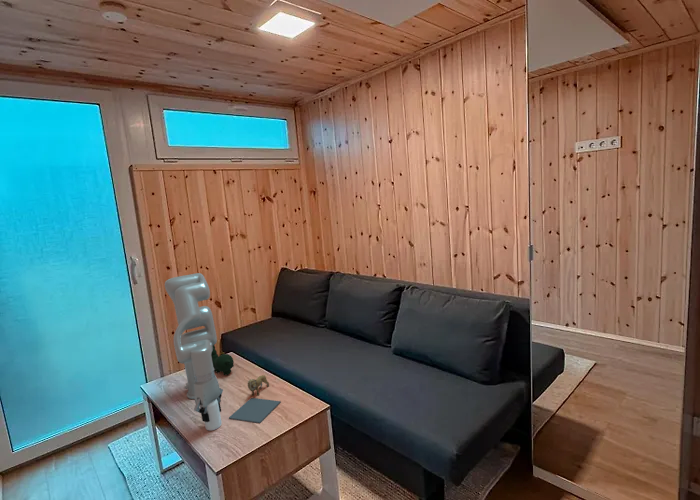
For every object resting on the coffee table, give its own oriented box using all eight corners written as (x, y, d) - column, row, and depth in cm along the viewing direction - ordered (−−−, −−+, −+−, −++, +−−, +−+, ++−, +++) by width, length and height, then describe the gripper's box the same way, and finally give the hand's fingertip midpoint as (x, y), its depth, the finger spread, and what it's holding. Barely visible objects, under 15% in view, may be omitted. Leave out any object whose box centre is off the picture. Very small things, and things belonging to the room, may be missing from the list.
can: (216, 431, 155) (211, 404, 153) (202, 431, 156) (197, 404, 154) (224, 421, 161) (220, 395, 159) (211, 421, 162) (206, 395, 161)
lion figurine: (257, 400, 176) (254, 382, 175) (246, 399, 178) (244, 381, 176) (271, 384, 190) (269, 367, 189) (262, 383, 192) (259, 367, 190)
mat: (229, 418, 163) (228, 417, 163) (251, 398, 178) (251, 397, 178) (260, 423, 157) (259, 422, 157) (280, 402, 171) (280, 401, 171)
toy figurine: (206, 371, 217) (224, 380, 198) (199, 340, 216) (217, 345, 197) (222, 365, 223) (241, 373, 204) (215, 334, 222) (234, 339, 203)
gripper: (212, 365, 165) (219, 404, 167) (181, 385, 149) (189, 427, 152) (226, 367, 162) (232, 405, 165) (196, 387, 146) (204, 430, 149)
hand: (212, 416), depth 158 cm, fingers closed on can, 6 cm apart
